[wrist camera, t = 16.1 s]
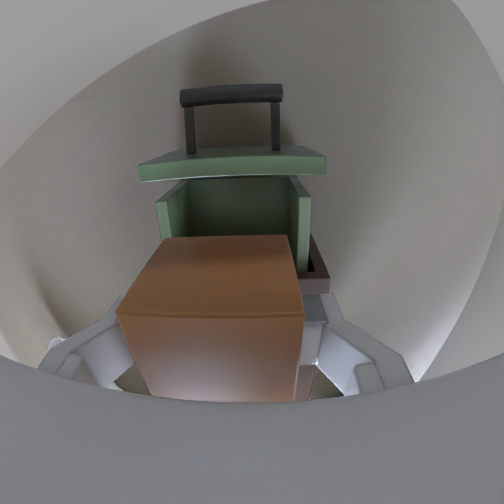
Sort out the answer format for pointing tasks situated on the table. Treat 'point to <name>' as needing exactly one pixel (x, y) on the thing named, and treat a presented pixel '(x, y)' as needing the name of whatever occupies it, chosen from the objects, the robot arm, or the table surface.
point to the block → (217, 319)
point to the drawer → (236, 179)
